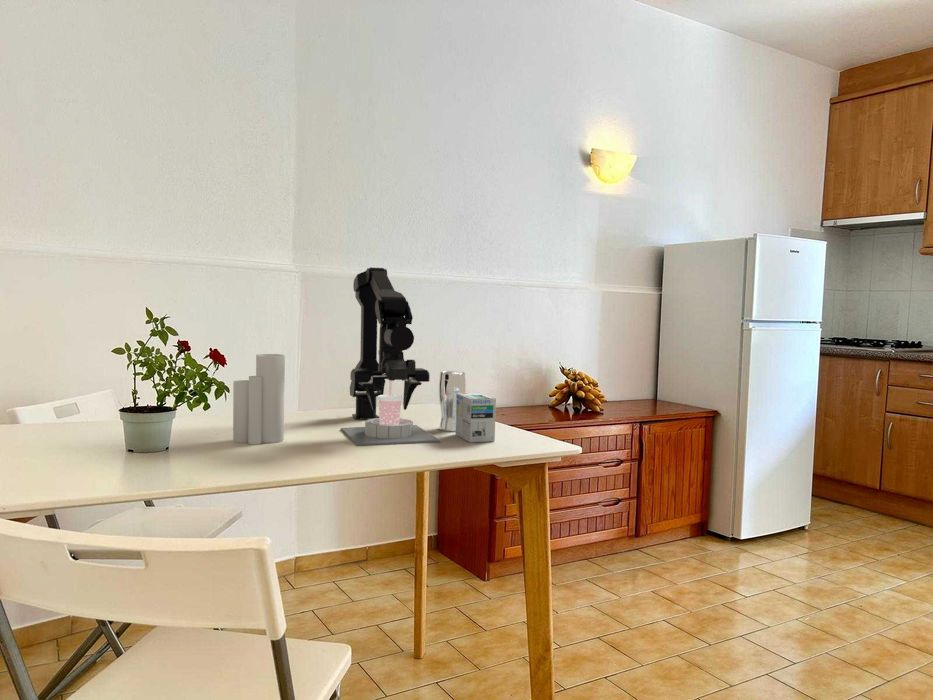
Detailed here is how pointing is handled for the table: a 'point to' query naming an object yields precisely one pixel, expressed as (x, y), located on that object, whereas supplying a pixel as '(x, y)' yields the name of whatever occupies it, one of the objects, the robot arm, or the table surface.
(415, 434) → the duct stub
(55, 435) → the table surface
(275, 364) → the vase
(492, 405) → the light bulb box
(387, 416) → the beverage cup
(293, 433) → the table surface
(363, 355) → the robot arm
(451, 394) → the beer glass
